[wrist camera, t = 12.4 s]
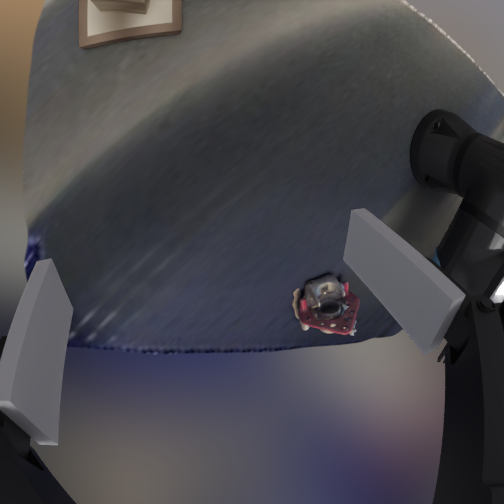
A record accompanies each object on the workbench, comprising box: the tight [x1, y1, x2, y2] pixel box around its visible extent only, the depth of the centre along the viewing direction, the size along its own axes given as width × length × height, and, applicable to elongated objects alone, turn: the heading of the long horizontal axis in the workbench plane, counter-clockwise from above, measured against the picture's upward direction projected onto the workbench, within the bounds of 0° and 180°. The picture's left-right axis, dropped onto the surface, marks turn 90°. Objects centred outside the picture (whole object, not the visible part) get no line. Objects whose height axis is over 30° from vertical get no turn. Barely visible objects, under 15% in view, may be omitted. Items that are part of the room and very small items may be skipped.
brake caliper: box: [292, 274, 360, 336], centre depth 53 cm, size 11×11×12 cm
